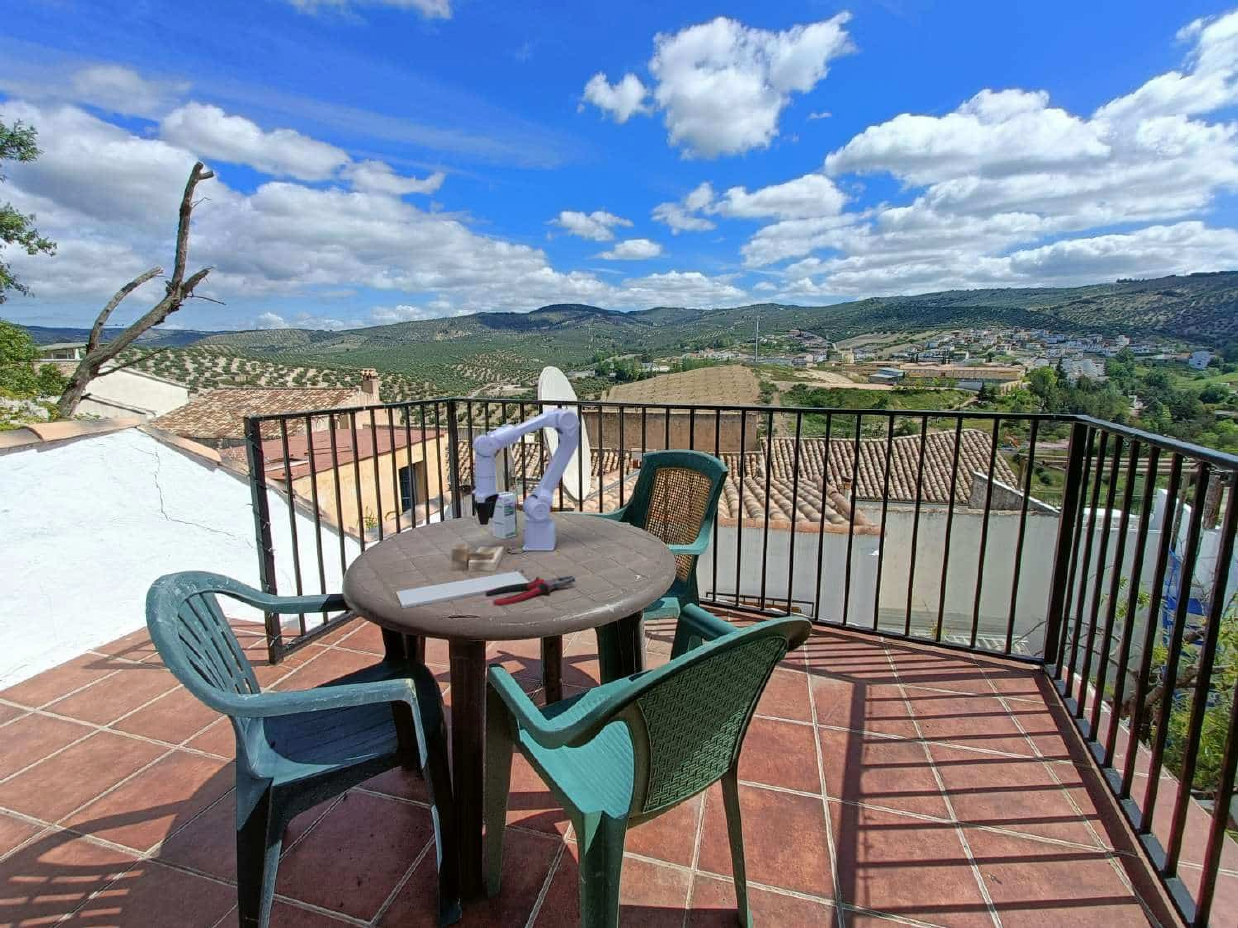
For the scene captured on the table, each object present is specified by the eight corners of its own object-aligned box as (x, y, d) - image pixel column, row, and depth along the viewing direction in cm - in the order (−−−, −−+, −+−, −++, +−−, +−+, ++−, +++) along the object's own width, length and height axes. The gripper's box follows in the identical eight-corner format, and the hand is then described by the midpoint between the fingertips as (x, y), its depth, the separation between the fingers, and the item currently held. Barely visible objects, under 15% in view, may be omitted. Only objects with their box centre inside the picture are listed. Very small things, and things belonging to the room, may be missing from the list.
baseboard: (394, 593, 142) (402, 611, 132) (394, 582, 141) (401, 599, 131) (514, 573, 157) (530, 588, 146) (514, 563, 156) (529, 577, 146)
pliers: (494, 599, 133) (580, 578, 143) (484, 586, 140) (566, 567, 150) (495, 611, 133) (581, 589, 143) (485, 598, 141) (567, 578, 151)
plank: (503, 554, 171) (503, 546, 170) (494, 570, 157) (494, 561, 156) (480, 554, 170) (479, 546, 170) (468, 570, 157) (468, 561, 156)
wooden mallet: (495, 565, 161) (494, 544, 160) (492, 570, 157) (492, 549, 156) (455, 565, 161) (454, 545, 160) (452, 570, 157) (451, 549, 156)
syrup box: (504, 539, 186) (503, 496, 183) (492, 536, 189) (491, 493, 187) (517, 535, 190) (516, 493, 188) (505, 532, 194) (504, 490, 191)
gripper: (477, 471, 175) (478, 515, 177) (465, 480, 161) (467, 527, 163) (500, 472, 175) (501, 515, 178) (490, 480, 161) (492, 527, 163)
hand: (486, 521), depth 170 cm, fingers open, 7 cm apart
